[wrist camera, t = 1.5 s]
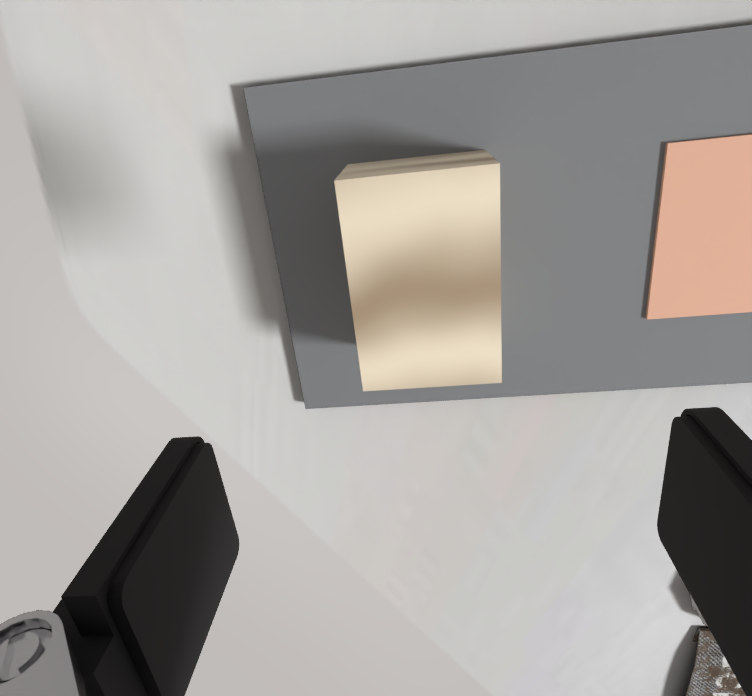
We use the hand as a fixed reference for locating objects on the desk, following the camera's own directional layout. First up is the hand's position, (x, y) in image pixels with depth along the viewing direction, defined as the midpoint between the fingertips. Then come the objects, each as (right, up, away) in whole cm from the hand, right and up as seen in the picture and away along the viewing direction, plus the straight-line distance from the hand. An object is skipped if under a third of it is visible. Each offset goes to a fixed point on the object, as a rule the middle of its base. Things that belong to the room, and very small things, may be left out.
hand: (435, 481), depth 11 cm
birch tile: (+1, +7, +14) cm, 16 cm away
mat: (+9, +8, +14) cm, 18 cm away
